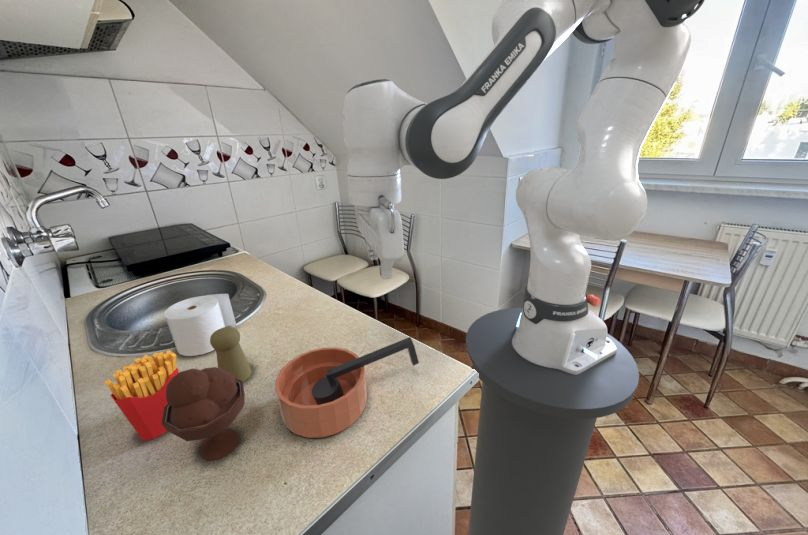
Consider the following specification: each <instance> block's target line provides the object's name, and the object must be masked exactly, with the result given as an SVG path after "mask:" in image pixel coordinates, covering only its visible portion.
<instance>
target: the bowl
mask: <svg viewBox="0 0 808 535" xmlns="http://www.w3.org/2000/svg"><path fill="white" fill-rule="evenodd" d="M359 357H360V356H359V355H358V354H357V353H355V352H353V351H351V350H349V349H347V348H342V347H335V346H334V347H321V348H315V349H312V350H309V351H306V352H303V353H300V354H299V355H296V357H294V358H292V359H291V360H289V361H288V362H287V363H286V364H285V365H284V366H283V367H282V368H281V370H280V371H279V372H278V375H277V376H276V379H275V382H274V383H275V384H274V392H275V395H276V396H275V397H276V399H277V404H278V408H279V412H280V418H281V419H282V422H283V425H284V426H285V428H286V429H288V430H289V431H290V432H292V433H293V434H294V435H296V436H300V437H303V438H310V439H311V438H326V437H329V436H332V435H336V434H339V433H340V432H342V431H344V430H345V429H347V428H349V427H350V426H352V425H353V424H354V423H355V422H356V421H357V419H359V418H360V417H361V416H362V413H363V411H364V410H365V408H366V406H367V399H368V388H367V378H366V370H365V369H366V368H365V366H363V367H360V368H358V369H356V370H353V371H351V372H348V373H346V374H343V375H341V376H339V377H336V378H337V379H338V381H339V383H340V385H341V388H342V390H343V396H342V397H340V398H338V399H336V400H334V401H332V402H329V403H325V404H321V405H317V403H316V401H315V399H314V397H313V395H312V388H313V386H314V385H315V383H316V382H317V381H319V380H320V379H322V378H324V377H326V371H328V370H329V369H332V368H334V367H337V366H339V365H342V364H344V363H347V362H349V361H352V360H354V359H357V358H359Z"/></svg>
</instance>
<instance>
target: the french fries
mask: <svg viewBox="0 0 808 535" xmlns="http://www.w3.org/2000/svg"><path fill="white" fill-rule="evenodd" d="M177 356H178V355H177V354H176V353H175V352H172V351H171V350H170V349H169V350H166V351H165V353H164V352H163V351H160V352H154V353H152V356H149V355H148V354H145V355H142V358H141V357H138V358H135V359H134V361H135V362H133V363H130V364H129V365H125V366H123V367H122V369H123V370H122V369H121V368H120V369H118V370H116V371H115V373H113V374H112V376H113V378H114V380H115V381H116V383H113V382H112V380H110V378H108V379H107V380H105V381H104V384H105V385H106V386H107V388H108V389H109V390H110V392H111V394H110V398H111V399H112V400H113V401H114V403H115V404H116V405H117V407H118V408H119V410H120V411H121V413H122V414H123V415H124V416H125V418H126V420H128V422H129V424H130V425H131V426H132V428H133V429H134V430H135V432H136V433H137V435H138V436H139V437H140V439H141V440H142V441H143V442H146V441H151V440H154V439H156V438H158V437H159V436H161V435H163V434H165V433H166V432H168V431H167V430H166V429H165V428H164V427H163V425H162V424H161V422H162V417H163V411H164V407H165V406H166V405H167V404H168V402H167V399H166V387H167V385H168V383H169V382H170V380H171V379H172V377H174V376H175V375H177V374H178V373H179V372H180V371H179V368H178V367H177Z"/></svg>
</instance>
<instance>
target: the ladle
mask: <svg viewBox="0 0 808 535" xmlns="http://www.w3.org/2000/svg"><path fill="white" fill-rule="evenodd" d="M406 349H407V352H408V355H409V359H410V362H411V364H412V366H415V365H418V364H419V363H420V362H419V358H418V355H417V354H418V353H417V351H416V347H415V344H414V341H413V339H412V338H411V336H409V337H406V338H404V339H400V340H399V341H396V342H394V343H391V344H389V345H387V346H384V347H381V348H379V349H376V350H374V351H372V352H368V353H366V354H364V355H362V356H358V357H359V358H357V359H354V360H352V361H349V362H347V363H344V364H342V365H339V366H337V367H334V368H332V369H329V370H328V371H326V377H324V378H322V379H320V380H319V381H317V382H316V383H315V385H314V386H313V388H312V395H313V397H314V399H315V401H316V403H317V405H321V404H325V403H329V402H332V401H334V400H336V399H338V398H340V397H342V396H343V390H342V388H341V385H340V383H339V381H338V379H337V378H336V377H339V376H341V375H343V374H346V373H348V372H351V371H353V370H356V369H358V368H360V367H363V366H364V367H365V366H368V365H371V364H373V363H374V362H377V361H380V360H382V359H384V358H387V357H390V356H393V355H394V354H396V353H399V352H402V351H404V350H406Z"/></svg>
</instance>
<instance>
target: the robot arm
mask: <svg viewBox="0 0 808 535" xmlns="http://www.w3.org/2000/svg"><path fill="white" fill-rule="evenodd" d="M704 3H705V0H502V1H501V3H500V4H499V6H498V8H497V9H496V11H495V12H494V15H493V17H492V20H491V21H492V22H491V36H492V41H493V45H494V46H493V47H492V48H491V49H490V51H489V52H488V53H487V54H486V56H485V57H483V59H482V60H481V61H480V63H479V64H478V65H477V66H476V67H475V69H473V71H472V72H471V73H470V75H468V77H467V78H466V79H465V80H464V82H463V83H462V84H461V85H460V86H459V87H458V88H457V89H455V90H454V91H453V92H450V93H449V94H448V95H447V94H446V95H444V96H442V97H440V98H437V99H435V100H433V101H430V102H429V103H427V102H424V101H422V100H420V99H417V98H415V97H414V96H412V95H410V94H409V93H406V92H405V91H404V90H402V89H401V88H400V87H398V86H397V85H396V84H395V83H394V81H393V80H391V79H386V78H383V79H382V78H381V79H372V80H367V81H364V82H361V83H358V84H355V85H354V86H353V87H351V88H350V89H349V90H348V91H347V93H346V94H345V96H344V97H343V104H342V132H343V134H342V135H343V145H344V150H345V152H346V155H347V161H348V162H347V169H346V179H347V190H348V201H349V204H350V205H352V206H353V209H354V215H355V221H356V222H355V223H356V225H357V226H356V227H357V229H358V231H359V233H360V234H361V235H362V236H363V238H364V239H365V240H364V241H365V245H366V249H367V257H368V258H369V260H370V261H376V260H378V259H379V262H380V266H379V275H380V277H381V279H382V280H390V279H392V277H393V267H394V264H395V262H399V261H402V260H403V258H404V255H405V244H404V231H403V221H402V218H401V217H402V216H401V214H400V211H398V210H397V209H395V205H397V204H399V203H401V202H402V168H403V167H404V166H412V167H414V168H416V169H418V170H419V171H420V172H421V173H422V174H424V175H426V176H428V177H430V178H432V179H436V180H437V179H438V180H447V179H453V178H455V177H457V176H460V175H462V174H463V173H464V172H465V171H467V170H468V169H469V168H470V167H471V166H472V164H473V163H474V162H475V160H477V157H478V155H479V153H480V151H481V149H482V146H483V144H484V142H485V140H486V137H487V135H488V133H489V131H490V128H492V126H493V124H494V122H495V121H496V120H497V119H498V117H499V116H500V115H501V114H502V112H503V111H504V110H505V109H506V107H507V106H508V105H509V104H510V103H511V102H512V101H513V99H514V98H515V97H516V96H517V95H518V93H519V92H520V91H521V90H522V88H523V87H524V86H525V85H526V84H527V82H528V81H529V80H530V79H531V78H532V76H533V75H534V74H535V73H536V72H537V70H538V69H539V68H540V67H541V65H543V63H544V61H545V60H546V59H547V58H548V57H549V56H550V55H551V54H552V53H554V52H555V50H556V49H557V48H558V47H560V45H562V43H564V41H565V40H566V39H567V38H568V37H569V36H570V35H571V34H573V36H574V37H575V38H576V39H577V40H578V41H580V42H581V43H582V44H587V45H598V44H603V43H608V42H610V41H612V40H613V39H614V40H613V49H612V54H611V57H610V59H609V62H608V64H607V66H606V67H605V69H604V70H603V72H602V74H601V76H600V78H599V80H598V81H597V83H596V85H595V88H594V89H593V91H592V93H591V95H590V97H589V99H588V101H587V103H586V105H585V107H584V109H583V110H582V112H581V115H580V116H579V119H578V120H577V122H576V124H575V129H574V134H575V138H576V139H577V141H578V143H579V144H580V146H581V154H580V157H579V160H578V163H577V165H576V167H575V168H568V167H561V166H547V167H540V168H535V169H532V170H529V171H528V172H527V173H525V175H523V176H522V177H521V179H519V182H518V184H517V186H516V190H515V202H516V204H517V205H518V208H519V209H520V211H521V213H522V215H523V217H524V220H525V226H526V230H527V234H528V240H529V248H530V249H529V250H530V261H529V269H528V270H529V271H528V279H527V284H526V286H525V287H524V292H523V297H522V308H523V310H522V313H521V314H520V316H519V319H518V322H517V327H516V332H515V334H514V336H513V338H512V345H513V347H514V349H515V351H516V352H517V353H518V354H519V355H521V356H522V357H523V358H525V359H526V360H528V361H530V362H532V363H534V364H537V365H540V366H544V367H548V368H554V369H559V370H562V371H564V372H567V373H570V374H574V375H577V374H580V373H581V372H583V371H585V370H587V369H589V368H590V367H592V366H594V365H596V364H597V363H599V362H601V361H603V360H604V359H606V358H608V357H610V356H612V355H613V354H615V353H616V352H617V348H616V346H615V344H614V343H613V342H612V341H611V340H610V339H609V338H608V337H607V333H608V327H607V324H606V323H605V322H604V320H603V319H602V318H600V317H599V316H598V315H597V314H595V312H593V311H591V309H589V304H590V305H591V306H592V307H597V306H599V304H600V303H601V298H600V297H598V296H595V295H594V294H592V293H591V294H586V292H587V289H588V284H589V279H590V276H591V271H592V270H591V269H592V260H591V257H590V255H589V253H588V251H587V250H586V249H585V247H584V246H583V243H582V240H581V237H583V238H586V239H592V240H601V241H613V242H614V241H619V240H622V239H625V238H626V237H628V236H630V235H631V234H632V233H633V232H635V230H637V229H638V228H639V226H640V225H641V224H642V222H643V221H644V218H645V217H646V215H647V212H648V211H647V210H648V196H647V192H646V190H645V188H644V186H643V185H642V184H641V181H640V180H639V173H638V164H639V156H640V153H641V150H642V148H643V144H644V142H645V140H646V138H647V136H648V134H649V132H650V130H651V128H652V126H653V125H654V123H655V121H656V119H657V117H658V116H659V114H660V112H661V110H662V108H663V107H664V105H665V103H666V101H667V99H668V98H669V96H670V94H671V92H672V91H673V88H674V86H675V84H676V82H677V81H678V78H679V76H680V73H681V71H682V69H683V66H684V64H685V62H686V59H687V56H688V54H689V53H688V52H689V51H690V47H691V43H692V35H691V32H690V29H689V27H688V26H687V25H686V24H685V22H686V21H688V20H689V19H690V18H691V17H692V16H694V15H695V14H696V13H697V12H698V11H699V9H700V8H701V7H702V6H703V5H704Z"/></svg>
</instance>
